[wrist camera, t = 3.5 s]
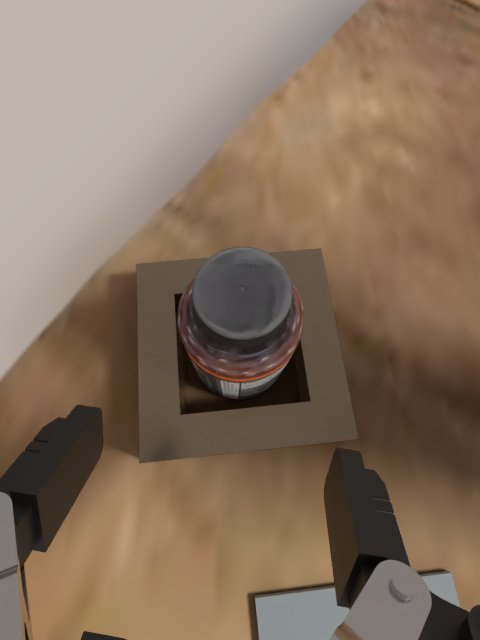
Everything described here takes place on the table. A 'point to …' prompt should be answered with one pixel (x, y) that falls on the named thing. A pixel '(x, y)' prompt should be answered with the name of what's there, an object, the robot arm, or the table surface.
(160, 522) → the table surface
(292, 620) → the slate mat
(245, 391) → the supplement bottle
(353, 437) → the socket block
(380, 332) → the table surface
